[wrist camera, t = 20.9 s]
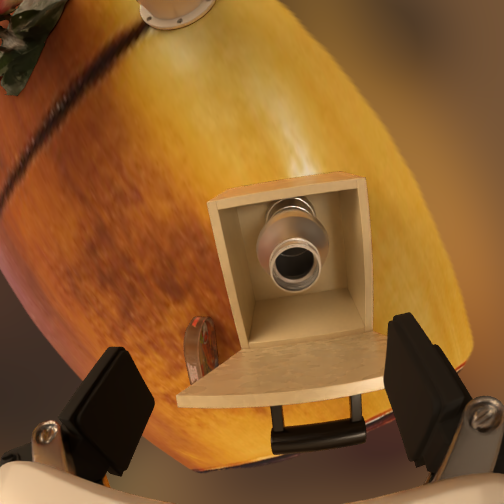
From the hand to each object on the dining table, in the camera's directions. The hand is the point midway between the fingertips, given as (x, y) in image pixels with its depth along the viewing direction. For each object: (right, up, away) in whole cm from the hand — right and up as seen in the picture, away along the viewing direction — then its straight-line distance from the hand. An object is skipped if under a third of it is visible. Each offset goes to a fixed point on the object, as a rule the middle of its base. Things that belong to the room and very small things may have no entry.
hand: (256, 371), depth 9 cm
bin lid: (+5, -5, +14) cm, 15 cm away
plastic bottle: (+5, +9, +30) cm, 32 cm away
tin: (-8, -12, +39) cm, 42 cm away
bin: (+6, +6, +32) cm, 33 cm away
